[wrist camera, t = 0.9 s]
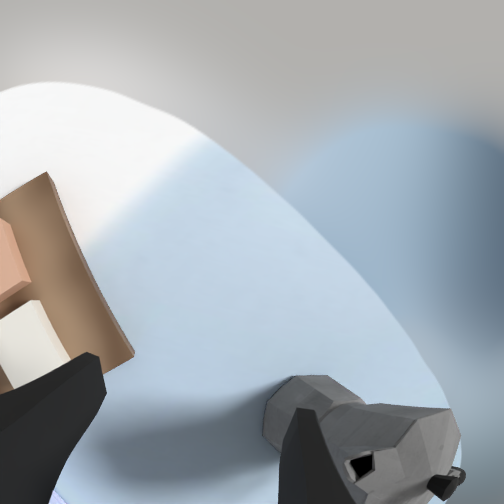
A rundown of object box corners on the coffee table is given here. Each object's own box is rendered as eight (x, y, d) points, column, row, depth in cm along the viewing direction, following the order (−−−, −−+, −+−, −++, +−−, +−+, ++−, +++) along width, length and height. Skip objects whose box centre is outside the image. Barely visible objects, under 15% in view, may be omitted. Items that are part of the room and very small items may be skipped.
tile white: (25, 386, 17) (16, 393, 15) (-5, 328, 16) (-16, 330, 15) (71, 360, 18) (65, 366, 17) (39, 300, 18) (30, 300, 16)
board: (15, 417, 17) (5, 426, 15) (-56, 256, 17) (-69, 252, 14) (134, 351, 22) (133, 357, 20) (53, 182, 22) (46, 171, 20)
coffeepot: (223, 435, 24) (334, 568, 7) (273, 346, 27) (444, 389, 10) (341, 469, 27) (461, 535, 10) (379, 399, 30) (517, 432, 13)
